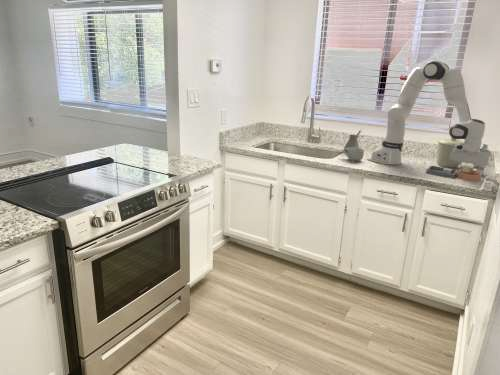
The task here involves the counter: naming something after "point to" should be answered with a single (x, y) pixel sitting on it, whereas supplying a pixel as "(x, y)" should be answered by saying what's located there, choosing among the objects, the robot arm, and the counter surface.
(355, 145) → the coffee pot
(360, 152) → the teacup
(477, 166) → the silver metal bottle
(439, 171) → the slate tray
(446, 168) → the cream matte cube
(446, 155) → the canister
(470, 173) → the terracotta bowl
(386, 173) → the counter surface
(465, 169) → the tan block
